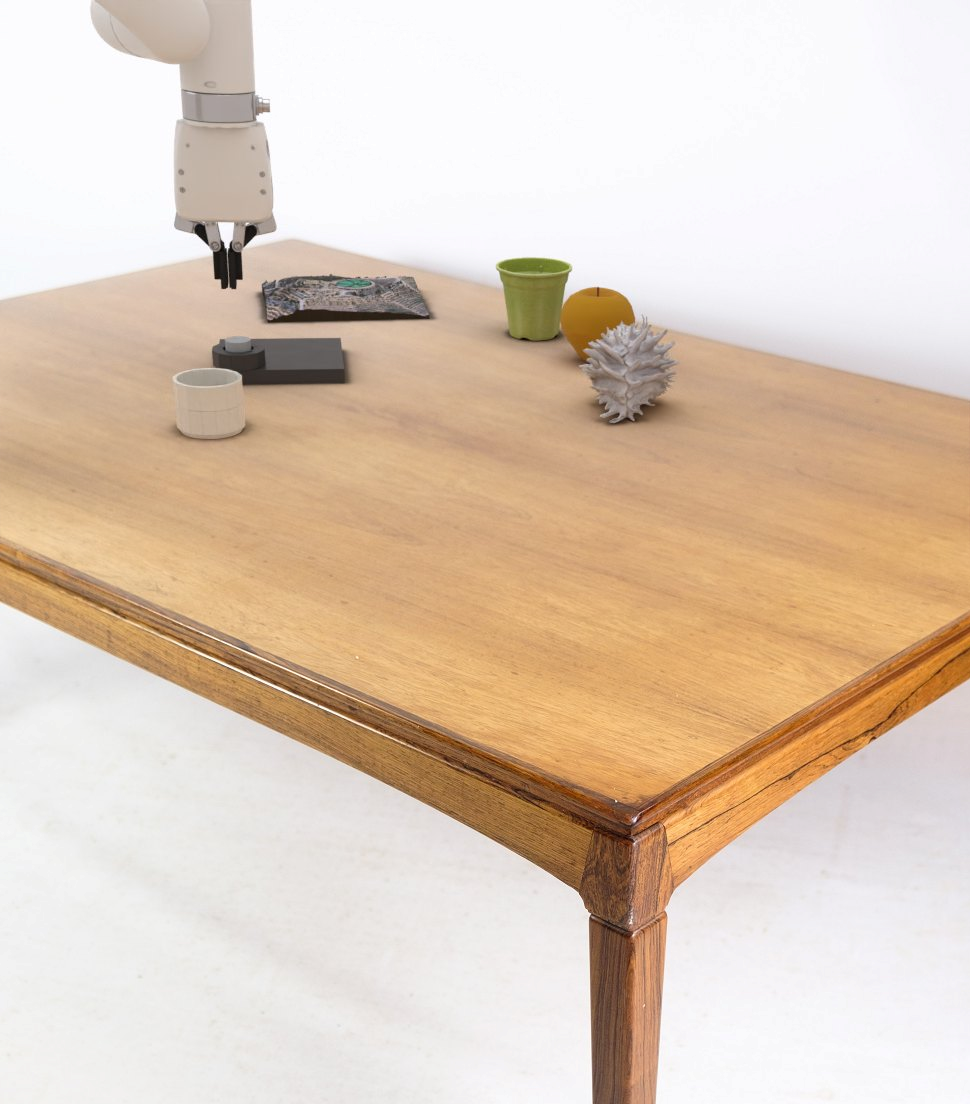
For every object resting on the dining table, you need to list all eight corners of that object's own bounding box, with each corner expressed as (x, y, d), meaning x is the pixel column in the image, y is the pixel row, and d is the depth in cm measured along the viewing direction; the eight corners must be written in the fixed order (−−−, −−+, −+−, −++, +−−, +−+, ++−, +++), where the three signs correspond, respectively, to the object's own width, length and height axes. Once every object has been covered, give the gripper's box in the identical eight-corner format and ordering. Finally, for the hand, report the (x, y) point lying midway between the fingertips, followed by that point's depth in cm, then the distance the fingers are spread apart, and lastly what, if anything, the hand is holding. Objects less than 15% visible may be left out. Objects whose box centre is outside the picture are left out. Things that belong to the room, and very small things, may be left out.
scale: (213, 386, 180) (211, 355, 179) (217, 353, 192) (215, 323, 190) (345, 384, 183) (343, 353, 181) (341, 351, 194) (339, 322, 193)
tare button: (225, 354, 180) (224, 342, 180) (226, 348, 183) (225, 336, 182) (251, 354, 181) (250, 342, 180) (251, 347, 183) (250, 335, 182)
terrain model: (268, 323, 204) (266, 297, 203) (262, 295, 217) (260, 270, 216) (429, 319, 209) (428, 294, 207) (414, 291, 222) (413, 267, 220)
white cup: (175, 441, 164) (170, 387, 161) (179, 420, 169) (174, 368, 167) (245, 439, 165) (241, 386, 162) (246, 418, 171) (242, 367, 168)
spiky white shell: (659, 415, 185) (565, 432, 180) (642, 317, 183) (547, 331, 178) (709, 407, 175) (611, 425, 170) (693, 303, 173) (593, 319, 168)
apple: (556, 350, 199) (558, 276, 194) (629, 351, 199) (632, 277, 195) (561, 371, 191) (562, 295, 186) (637, 372, 192) (640, 296, 187)
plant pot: (514, 348, 199) (514, 276, 195) (484, 329, 206) (484, 259, 202) (583, 341, 203) (585, 271, 199) (551, 323, 210) (552, 254, 206)
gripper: (292, 106, 174) (298, 280, 183) (147, 101, 171) (160, 277, 180) (292, 116, 168) (299, 295, 176) (142, 111, 165) (156, 293, 173)
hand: (229, 286), depth 178 cm, fingers closed
